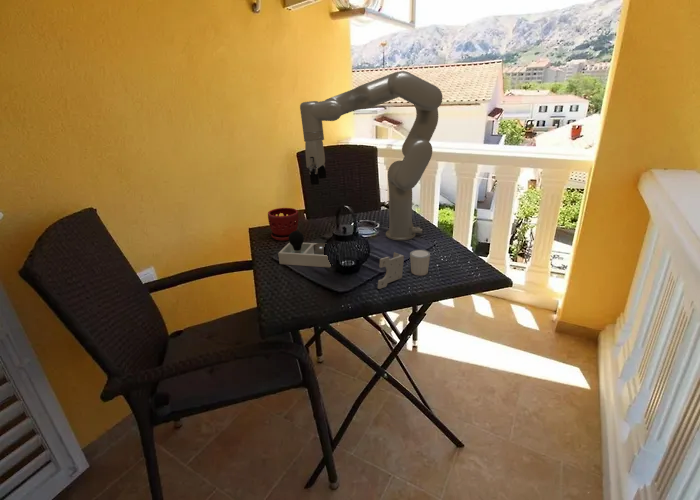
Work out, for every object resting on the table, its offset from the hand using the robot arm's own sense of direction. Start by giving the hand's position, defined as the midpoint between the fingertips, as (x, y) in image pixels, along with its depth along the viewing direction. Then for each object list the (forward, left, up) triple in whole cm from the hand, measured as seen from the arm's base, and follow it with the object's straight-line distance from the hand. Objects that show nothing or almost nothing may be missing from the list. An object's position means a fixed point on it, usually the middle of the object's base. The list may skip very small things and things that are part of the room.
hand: (319, 181), depth 148 cm
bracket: (-32, +30, -27) cm, 51 cm away
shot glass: (-42, +21, -27) cm, 54 cm away
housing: (0, +17, -26) cm, 31 cm away
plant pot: (+19, -4, -27) cm, 33 cm away
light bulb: (+5, +17, -25) cm, 31 cm away
